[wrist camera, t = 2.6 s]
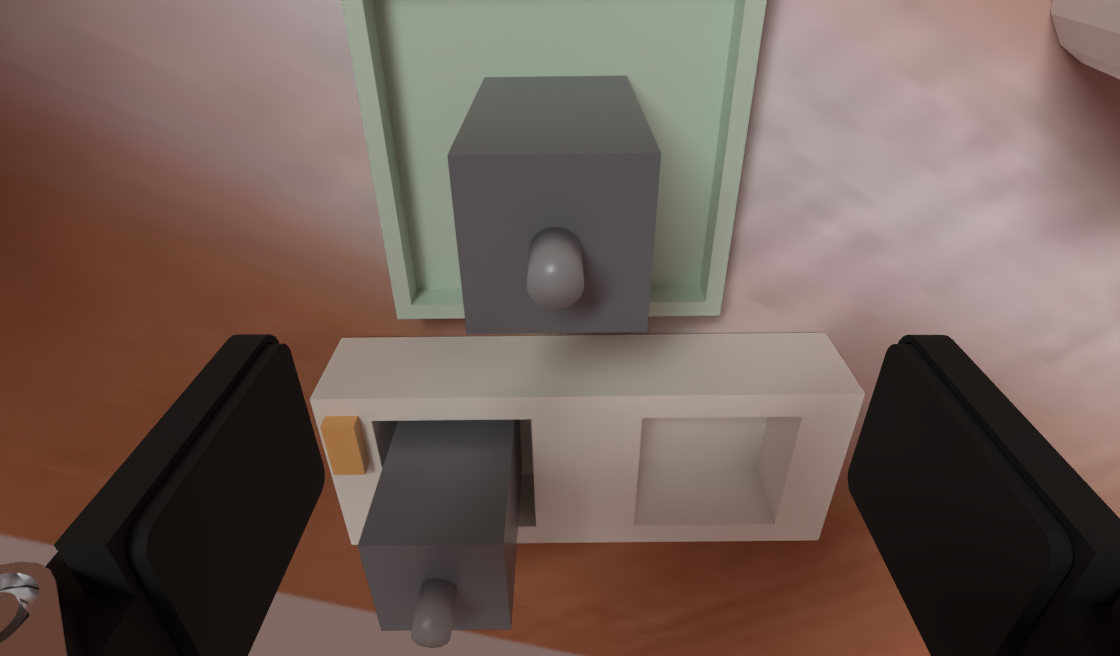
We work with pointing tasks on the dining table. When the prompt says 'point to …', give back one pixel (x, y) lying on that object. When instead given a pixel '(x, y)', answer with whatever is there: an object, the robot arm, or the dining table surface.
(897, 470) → the robot arm
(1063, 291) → the dining table surface
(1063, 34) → the white cup
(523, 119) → the plug
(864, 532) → the dining table surface
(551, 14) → the tray
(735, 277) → the dining table surface
